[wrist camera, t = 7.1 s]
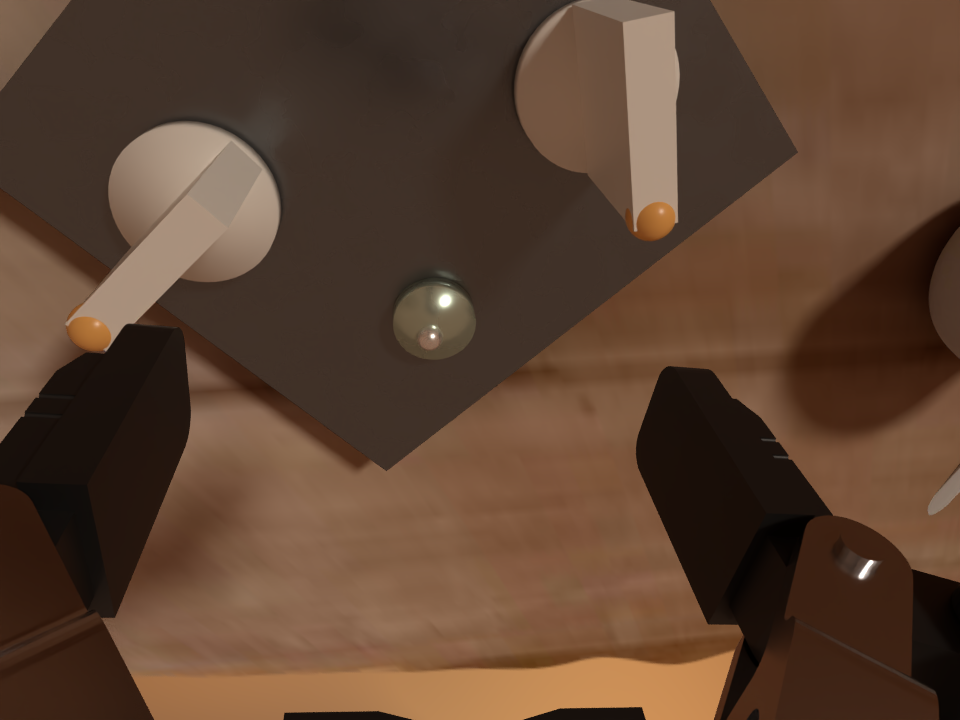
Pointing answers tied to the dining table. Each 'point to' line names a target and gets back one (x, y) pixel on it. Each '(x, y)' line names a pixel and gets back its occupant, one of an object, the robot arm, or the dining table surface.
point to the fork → (945, 493)
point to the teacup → (947, 294)
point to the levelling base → (373, 184)
